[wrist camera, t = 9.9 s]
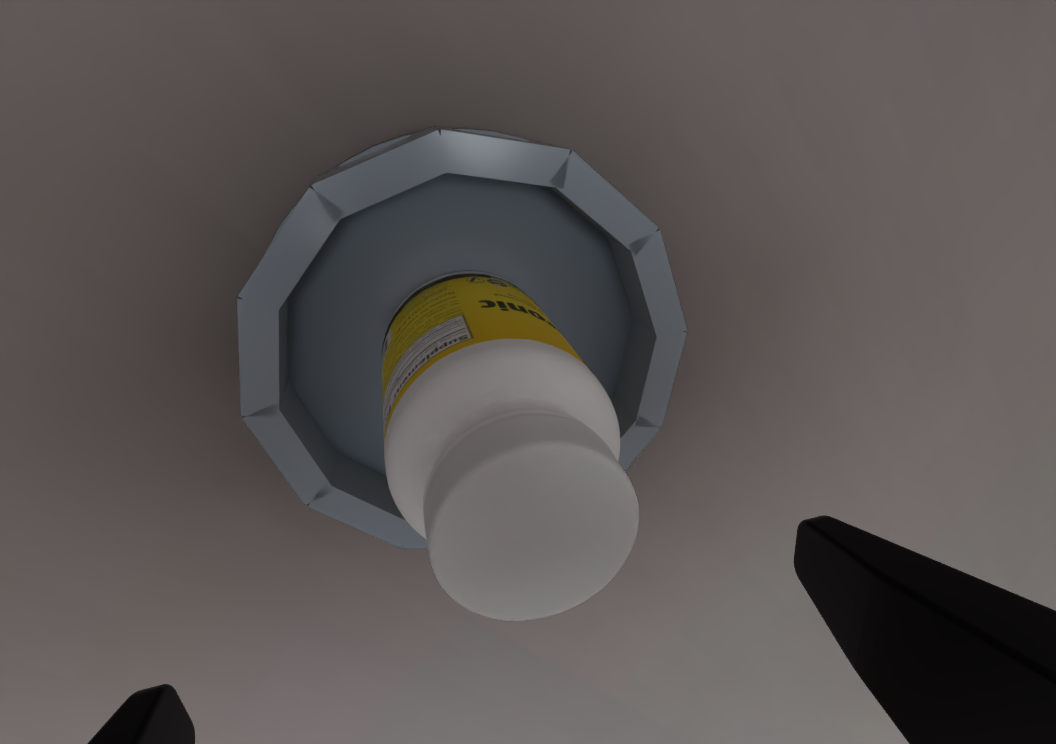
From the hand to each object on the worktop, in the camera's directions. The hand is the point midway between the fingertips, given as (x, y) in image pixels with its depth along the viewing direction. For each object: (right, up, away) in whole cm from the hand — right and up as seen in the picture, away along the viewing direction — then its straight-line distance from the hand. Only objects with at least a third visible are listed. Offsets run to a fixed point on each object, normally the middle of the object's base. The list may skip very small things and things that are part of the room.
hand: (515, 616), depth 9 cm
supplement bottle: (-2, +4, +11) cm, 12 cm away
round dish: (-2, +5, +12) cm, 13 cm away
